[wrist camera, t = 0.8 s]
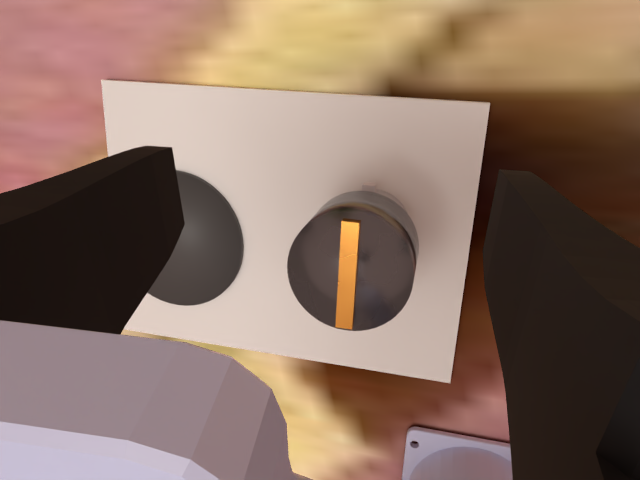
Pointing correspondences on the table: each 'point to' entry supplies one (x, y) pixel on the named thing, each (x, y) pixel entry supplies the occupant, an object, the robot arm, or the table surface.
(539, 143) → the table surface
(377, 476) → the table surface
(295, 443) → the table surface
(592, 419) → the robot arm
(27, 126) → the table surface
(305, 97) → the board
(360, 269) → the knob
